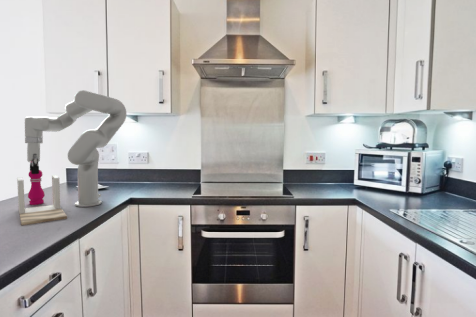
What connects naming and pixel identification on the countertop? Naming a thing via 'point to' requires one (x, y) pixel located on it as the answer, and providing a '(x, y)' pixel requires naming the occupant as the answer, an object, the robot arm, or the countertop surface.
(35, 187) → the pepper mill
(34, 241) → the countertop surface
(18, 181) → the gate
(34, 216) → the oak board
